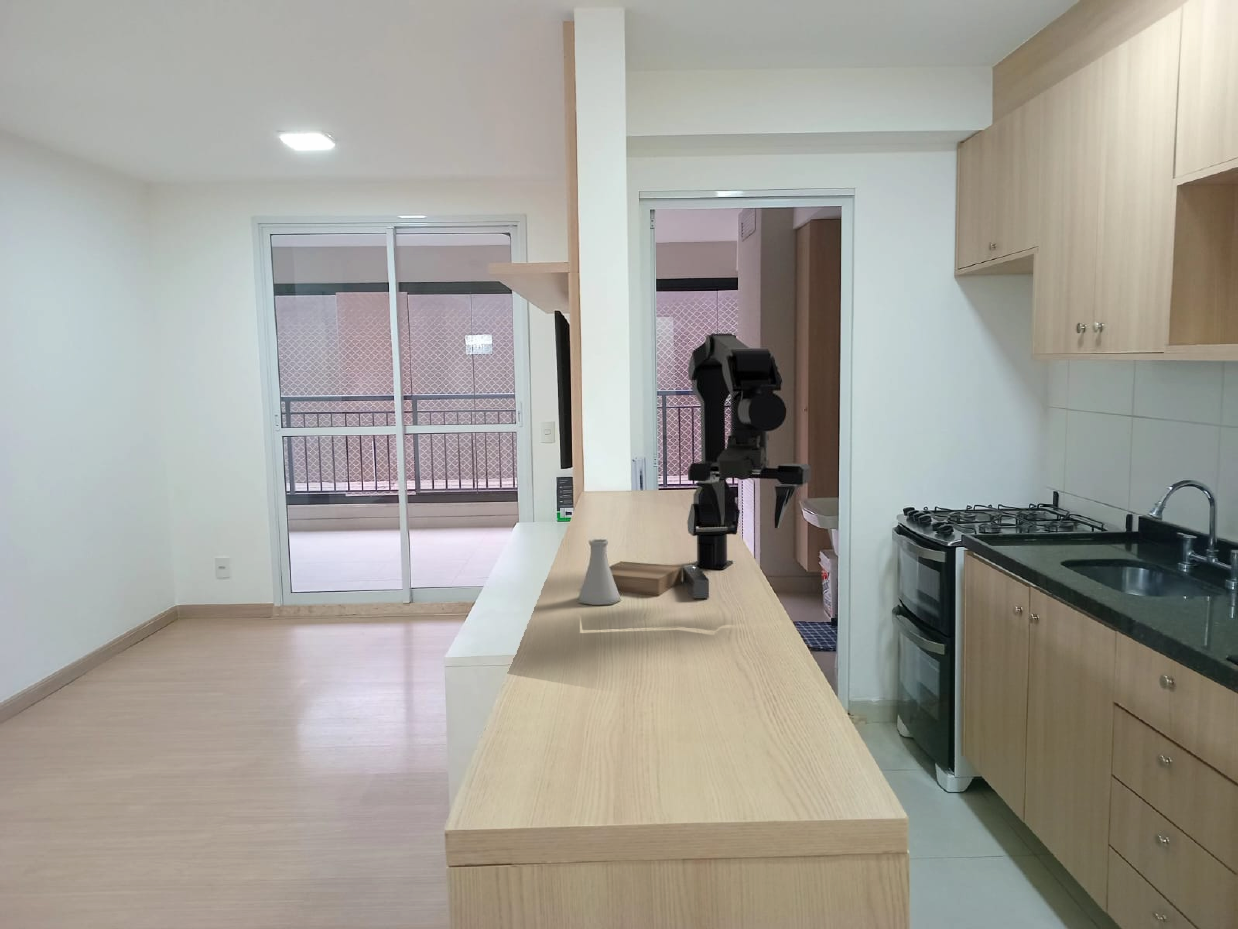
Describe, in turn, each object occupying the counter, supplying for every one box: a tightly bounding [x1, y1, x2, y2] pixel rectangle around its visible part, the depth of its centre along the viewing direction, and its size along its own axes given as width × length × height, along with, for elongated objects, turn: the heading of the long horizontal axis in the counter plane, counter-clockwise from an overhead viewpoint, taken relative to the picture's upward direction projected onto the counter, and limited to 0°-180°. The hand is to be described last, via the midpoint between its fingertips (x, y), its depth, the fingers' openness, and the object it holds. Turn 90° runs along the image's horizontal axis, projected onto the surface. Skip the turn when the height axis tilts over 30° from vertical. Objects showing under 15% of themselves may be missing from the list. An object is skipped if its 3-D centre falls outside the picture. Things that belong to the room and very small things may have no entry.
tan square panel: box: [609, 561, 684, 597], centre depth 149 cm, size 11×12×3 cm
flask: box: [577, 538, 622, 606], centre depth 139 cm, size 7×7×10 cm
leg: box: [682, 564, 710, 599], centre depth 146 cm, size 12×2×3 cm, turn 5°
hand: (748, 526), depth 136 cm, fingers open, 9 cm apart
